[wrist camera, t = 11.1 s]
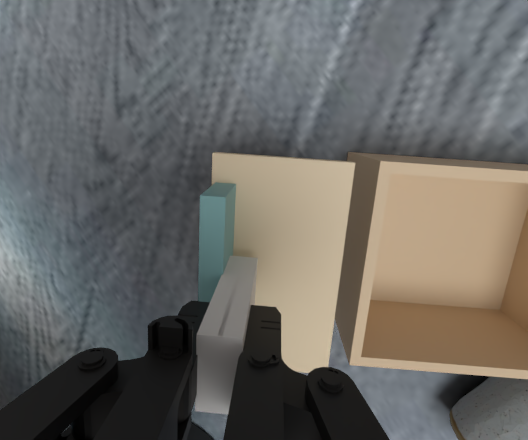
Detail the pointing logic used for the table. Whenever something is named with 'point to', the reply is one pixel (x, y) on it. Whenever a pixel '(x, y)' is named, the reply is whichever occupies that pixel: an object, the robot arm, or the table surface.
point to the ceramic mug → (493, 411)
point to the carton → (436, 266)
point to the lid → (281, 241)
